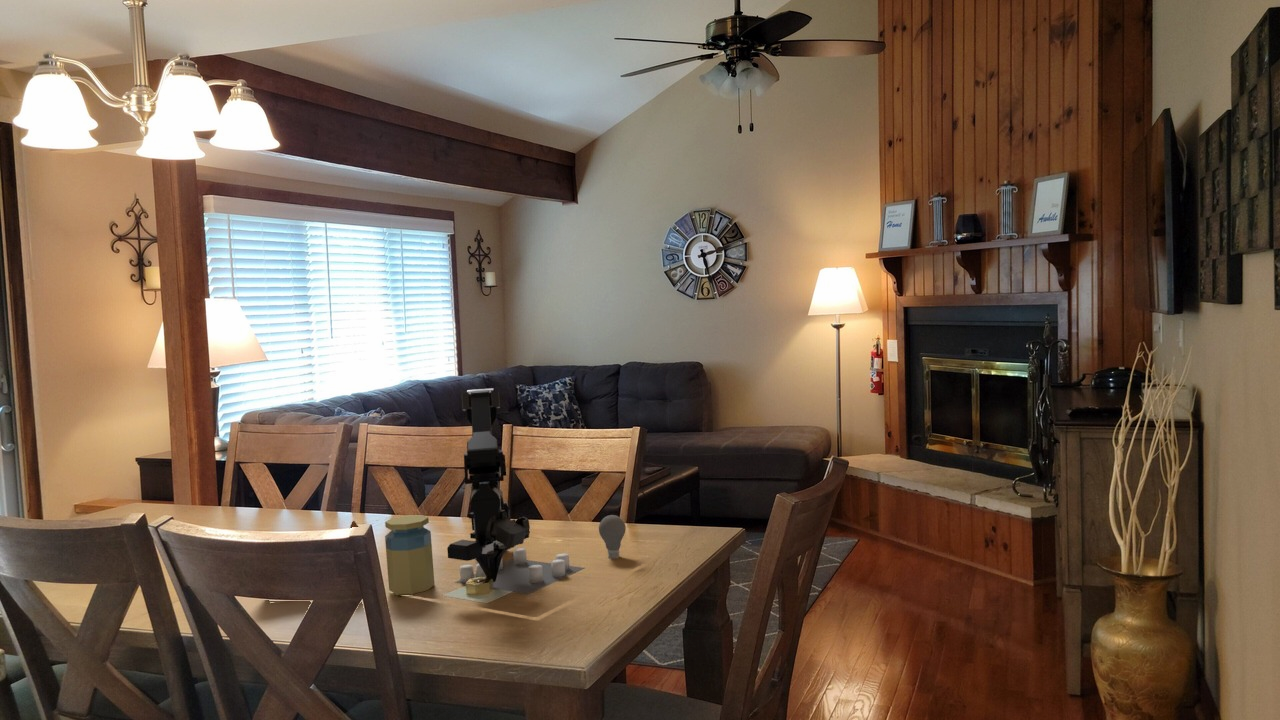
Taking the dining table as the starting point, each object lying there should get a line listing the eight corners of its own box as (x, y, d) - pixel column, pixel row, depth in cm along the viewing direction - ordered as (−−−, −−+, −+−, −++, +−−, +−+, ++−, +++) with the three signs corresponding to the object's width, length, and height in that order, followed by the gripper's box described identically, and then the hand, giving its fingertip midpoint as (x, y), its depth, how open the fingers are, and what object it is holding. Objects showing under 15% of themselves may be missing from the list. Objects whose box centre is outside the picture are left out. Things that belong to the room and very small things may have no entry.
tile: (442, 598, 183) (442, 595, 183) (468, 587, 189) (468, 584, 189) (486, 606, 176) (486, 603, 176) (512, 594, 182) (512, 591, 182)
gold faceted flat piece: (461, 592, 184) (460, 581, 183) (479, 586, 187) (478, 575, 187) (480, 596, 180) (480, 585, 180) (498, 589, 184) (497, 578, 184)
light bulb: (624, 563, 200) (621, 518, 199) (597, 563, 201) (595, 518, 200) (629, 555, 206) (627, 512, 205) (604, 555, 207) (601, 512, 206)
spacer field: (454, 585, 191) (453, 568, 191) (514, 560, 207) (513, 545, 207) (527, 597, 180) (526, 579, 180) (585, 570, 196) (584, 554, 196)
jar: (444, 586, 190) (438, 516, 189) (411, 600, 183) (405, 526, 182) (413, 581, 195) (407, 513, 194) (379, 594, 188) (374, 523, 187)
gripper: (484, 521, 173) (491, 601, 174) (546, 499, 189) (551, 573, 190) (442, 516, 179) (448, 594, 180) (505, 496, 195) (511, 567, 196)
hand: (492, 582), depth 186 cm, fingers closed
